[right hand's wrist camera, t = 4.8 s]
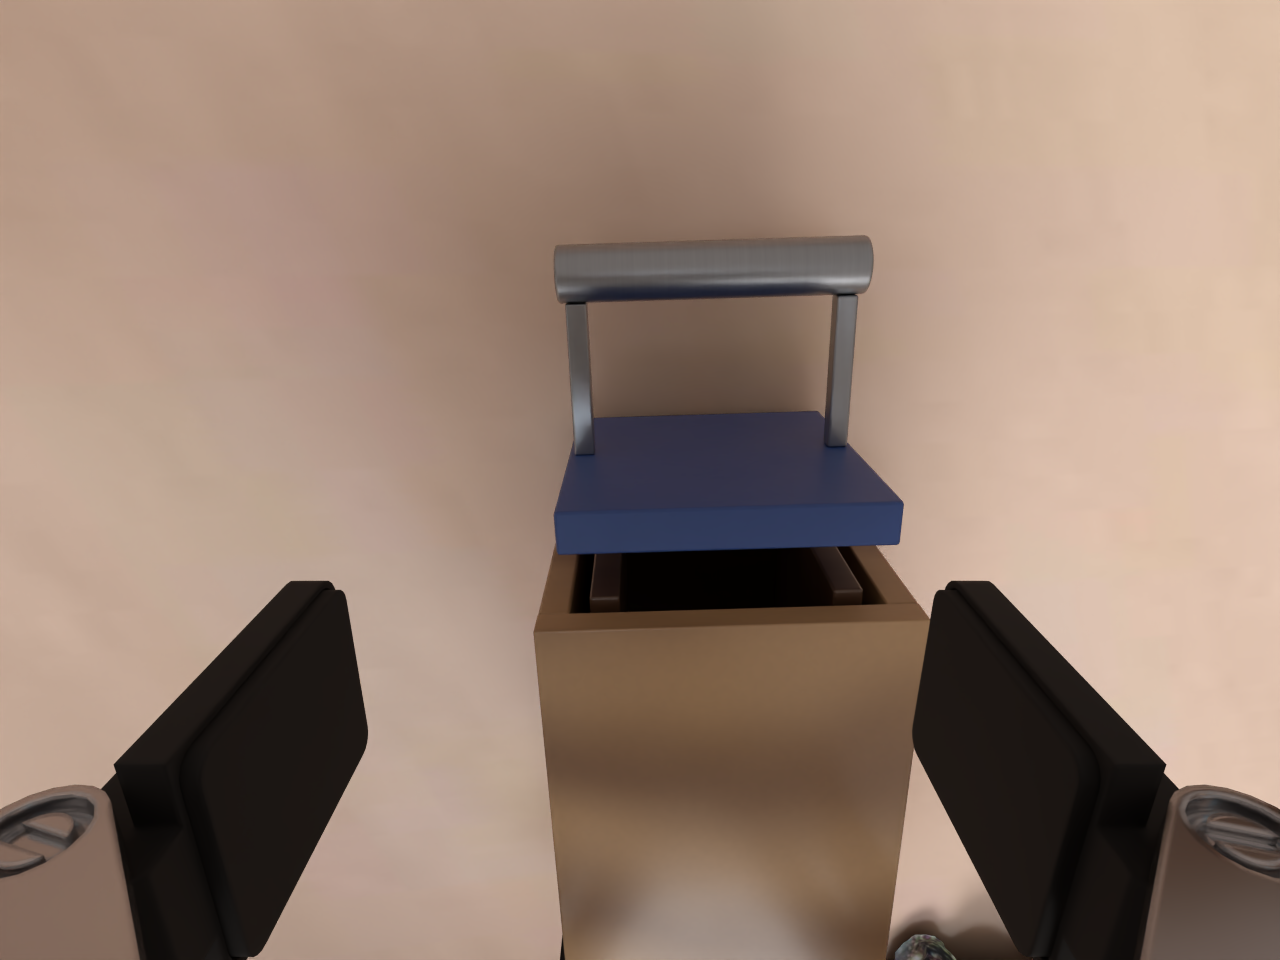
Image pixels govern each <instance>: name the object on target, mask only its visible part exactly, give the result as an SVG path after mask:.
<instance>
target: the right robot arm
mask: <svg viewBox="0 0 1280 960" xmlns="http://www.w3.org/2000/svg"><path fill="white" fill-rule="evenodd" d="M367 739H368V726H367V720H366V714H365V708H364V702H363V696H362V690H361V684H360V678H359V672H358V666H357V660H356V654H355V648H354V642H353V636H352V630H351V624H350V618H349V612H348V606H347V600H346V596H345V594H344V592H343V591H341V590H335V588H334V586H333V584H332V583H331V582H329V581H291V582H289V583H288V584H286V585H285V586H284V588H283V589H282V590H281V591H280V592H279V593H278V594H277V595H276V596H275V597H274V598H273V599H272V600H271V601H270V602H269V603H268V604H267V605H266V606H265V607H264V608H263V609H262V610H261V611H260V613H259V614H258V615H257V616H256V617H255V618H254V619H253V620H252V621H251V622H250V623H249V624H248V625H247V626H246V627H245V628H244V629H243V630H242V631H241V632H240V633H239V634H238V635H237V636H236V638H235V639H234V640H233V641H232V642H231V643H230V644H229V645H228V646H227V647H226V648H225V649H224V650H223V651H222V652H221V653H220V654H219V655H218V656H217V657H216V658H215V659H214V660H213V661H212V663H211V664H210V665H209V666H208V667H207V668H206V669H205V670H204V671H203V672H202V673H201V674H200V675H199V676H198V677H197V678H196V679H195V680H194V681H193V682H192V683H191V684H190V685H189V686H188V688H187V689H186V690H185V691H184V692H183V693H182V694H181V695H180V696H179V697H178V698H177V699H176V700H175V701H174V702H173V703H172V704H171V705H170V706H169V707H168V708H167V709H166V710H165V711H164V713H163V714H162V715H161V716H160V717H159V718H158V719H157V720H156V721H155V722H154V723H153V724H152V725H151V726H150V727H149V728H148V729H147V730H146V731H145V732H144V733H143V734H142V735H141V737H140V738H139V739H138V740H137V741H136V742H135V743H134V744H133V745H132V746H131V747H130V748H129V749H128V750H127V751H126V752H125V753H124V754H123V755H122V756H121V757H120V758H119V759H118V760H117V762H116V763H115V764H114V767H115V770H116V774H115V775H114V776H113V777H112V778H111V779H110V780H109V781H108V782H107V783H106V784H105V785H104V787H103V788H102V789H99V788H96V787H94V786H87V785H70V786H63V787H57V788H52V789H49V790H45V791H42V792H39V793H36V794H33V795H29V796H27V797H25V798H23V799H21V800H18V801H16V802H14V803H12V804H10V805H8V806H5V807H3V808H2V809H0V960H247V958H248V957H254V956H257V955H258V954H259V953H260V952H261V951H262V949H263V948H264V946H265V944H266V942H267V940H268V938H269V937H270V935H271V933H272V931H273V929H274V927H275V925H276V923H277V921H278V919H279V917H280V915H281V913H282V911H283V909H284V907H285V905H286V903H287V902H288V900H289V898H290V896H291V894H292V892H293V890H294V888H295V886H296V884H297V882H298V880H299V878H300V876H301V874H302V872H303V870H304V868H305V867H306V865H307V863H308V861H309V859H310V857H311V855H312V853H313V851H314V849H315V847H316V845H317V843H318V841H319V839H320V837H321V835H322V833H323V832H324V830H325V828H326V826H327V824H328V822H329V820H330V818H331V816H332V814H333V812H334V810H335V808H336V806H337V804H338V802H339V800H340V798H341V797H342V795H343V793H344V791H345V789H346V787H347V785H348V783H349V781H350V779H351V777H352V775H353V773H354V771H355V769H356V767H357V765H358V763H359V762H360V760H361V758H362V756H363V754H364V751H365V749H366V745H367ZM912 739H913V745H914V749H915V751H916V754H917V756H918V758H919V760H920V762H921V763H922V765H923V767H924V769H925V771H926V773H927V775H928V777H929V779H930V781H931V783H932V785H933V787H934V789H935V791H936V793H937V795H938V797H939V798H940V800H941V802H942V804H943V806H944V808H945V810H946V812H947V814H948V816H949V818H950V820H951V822H952V824H953V826H954V828H955V830H956V832H957V833H958V835H959V837H960V839H961V841H962V843H963V845H964V847H965V849H966V851H967V853H968V855H969V857H970V859H971V861H972V863H973V865H974V867H975V868H976V870H977V872H978V874H979V876H980V878H981V880H982V882H983V884H984V886H985V888H986V890H987V892H988V894H989V896H990V898H991V900H992V902H993V903H994V905H995V907H996V909H997V911H998V913H999V915H1000V917H1001V919H1002V921H1003V923H1004V925H1005V927H1006V929H1007V931H1008V933H1009V935H1010V937H1011V938H1012V940H1013V942H1014V944H1015V946H1016V948H1017V949H1018V951H1019V952H1020V953H1021V954H1022V955H1023V956H1026V957H1032V958H1033V960H1280V809H1278V808H1277V807H1275V806H1272V805H1270V804H1268V803H1266V802H1264V801H1262V800H1259V799H1257V798H1255V797H1253V796H1251V795H1247V794H1244V793H1241V792H1238V791H1235V790H1231V789H1228V788H1223V787H1217V786H1210V785H1193V786H1186V787H1184V788H1181V789H1178V788H1177V787H1176V785H1175V784H1174V783H1173V782H1172V781H1171V780H1170V779H1169V778H1168V777H1167V776H1166V775H1165V774H1164V770H1165V767H1166V764H1165V763H1164V762H1163V760H1162V759H1161V758H1160V757H1159V756H1158V755H1157V754H1156V753H1155V752H1154V751H1153V750H1152V749H1151V748H1150V747H1149V746H1148V745H1147V744H1146V743H1145V742H1144V741H1143V740H1142V739H1141V738H1140V737H1139V735H1138V734H1137V733H1136V732H1135V731H1134V730H1133V729H1132V728H1131V727H1130V726H1129V725H1128V724H1127V723H1126V722H1125V721H1124V720H1123V719H1122V718H1121V717H1120V716H1119V715H1118V714H1117V713H1116V711H1115V710H1114V709H1113V708H1112V707H1111V706H1110V705H1109V704H1108V703H1107V702H1106V701H1105V700H1104V699H1103V698H1102V697H1101V696H1100V695H1099V694H1098V693H1097V692H1096V691H1095V690H1094V689H1093V688H1092V686H1091V685H1090V684H1089V683H1088V682H1087V681H1086V680H1085V679H1084V678H1083V677H1082V676H1081V675H1080V674H1079V673H1078V672H1077V671H1076V670H1075V669H1074V668H1073V667H1072V666H1071V665H1070V664H1069V663H1068V661H1067V660H1066V659H1065V658H1064V657H1063V656H1062V655H1061V654H1060V653H1059V652H1058V651H1057V650H1056V649H1055V648H1054V647H1053V646H1052V645H1051V644H1050V643H1049V642H1048V641H1047V640H1046V639H1045V638H1044V636H1043V635H1042V634H1041V633H1040V632H1039V631H1038V630H1037V629H1036V628H1035V627H1034V626H1033V625H1032V624H1031V623H1030V622H1029V621H1028V620H1027V619H1026V618H1025V617H1024V616H1023V615H1022V614H1021V613H1020V611H1019V610H1018V609H1017V608H1016V607H1015V606H1014V605H1013V604H1012V603H1011V602H1010V601H1009V600H1008V599H1007V598H1006V597H1005V596H1004V595H1003V594H1002V593H1001V592H1000V591H999V590H998V589H997V588H996V586H995V585H994V584H992V583H991V582H989V581H951V582H949V583H948V584H947V586H946V588H945V590H939V591H937V592H936V594H935V596H934V600H933V606H932V612H931V618H930V624H929V630H928V636H927V642H926V648H925V654H924V660H923V666H922V672H921V678H920V684H919V690H918V696H917V702H916V708H915V714H914V720H913V726H912Z"/></svg>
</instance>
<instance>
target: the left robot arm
mask: <svg viewBox="0 0 1280 960" xmlns="http://www.w3.org/2000/svg"><path fill="white" fill-rule="evenodd" d="M560 960H565V953H564V943H563V935H562V945H561V955H560Z"/></svg>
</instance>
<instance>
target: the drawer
mask: <svg viewBox="0 0 1280 960" xmlns="http://www.w3.org/2000/svg"><path fill="white" fill-rule="evenodd" d="M872 272H873V248H872V243H871V240H870V238H869V237H867V236H865V235H861V236H830V237H798V238H767V239H736V240H704V241H673V242H641V243H610V244H578V245H557V246H556V247H555V250H554V280H555V289H556V295H557V299H558V301H559V303H567V304H566V305H565V310H566V325H567V341H568V356H569V371H570V386H571V401H572V417H573V432H574V442H573V446H572V449H571V453H570V457H569V460H568V464H567V468H566V471H565V475H564V479H563V482H562V486H561V490H560V493H559V497H558V501H557V504H556V508H555V512H554V525H555V538H556V550H557V553H558V554H559V555H572V554H595V557H594V565H593V574H592V582H591V591H590V613H610V612H644V611H678V610H711V609H745V608H779V607H812V606H846V605H862V595H863V590H862V588H861V586H860V584H859V583H858V581H857V580H856V578H855V576H854V575H853V573H852V571H851V570H850V568H849V566H848V565H847V563H846V561H845V560H844V558H843V557H842V555H841V553H840V552H839V550H838V548H837V547H838V546H872V545H897V544H899V542H900V534H901V525H902V516H903V506H904V503H903V501H902V500H901V499H900V498H899V497H898V496H897V495H896V494H895V493H894V492H893V491H892V490H891V488H890V487H889V486H888V485H887V484H886V483H885V482H884V481H883V480H882V479H881V478H880V477H879V476H878V475H877V474H876V473H875V471H874V470H873V469H872V468H871V467H870V466H869V465H868V464H867V463H866V462H865V461H864V460H863V459H862V458H861V457H860V455H859V454H858V453H857V452H856V451H855V450H854V449H853V448H852V447H851V446H850V445H849V444H848V443H847V436H848V423H849V410H850V397H851V384H852V371H853V358H854V345H855V332H856V319H857V306H858V296H857V295H855V294H863V293H865V292H866V291H867V289H868V287H869V285H870V281H871V278H872ZM813 295H833V300H832V316H831V331H830V347H829V362H828V378H827V393H826V409H825V418H824V417H823V416H822V415H821V414H820V413H819V412H818V411H803V412H771V413H738V414H706V415H673V416H641V417H608V418H594V413H593V395H592V377H591V359H590V340H589V322H588V304H587V303H591V302H623V301H655V300H686V299H718V298H750V297H782V296H813Z"/></svg>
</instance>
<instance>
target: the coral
mask: <svg viewBox="0 0 1280 960" xmlns="http://www.w3.org/2000/svg"><path fill="white" fill-rule="evenodd" d="M895 960H956V959H955V957H954V956H953V955H952V954H951V953H950V952H949V951H948V950H947V949H946V948H945V946H944V943H943V942H942V941H940V940H939V939H938V938H936V937H935V936H930V935H926V934H924V935H914V936H912V937H911V938H910V939H909V940H907V941H906V942H904V943H903V944H902V945H901V946H900V948H899V949H898V950H897V951H896V952H895Z"/></svg>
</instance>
